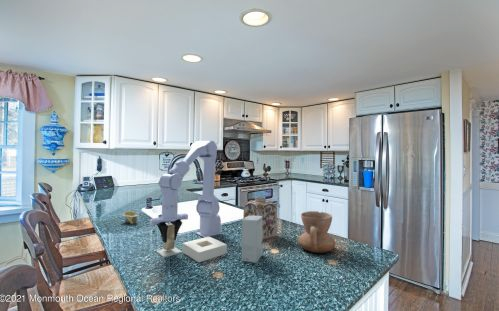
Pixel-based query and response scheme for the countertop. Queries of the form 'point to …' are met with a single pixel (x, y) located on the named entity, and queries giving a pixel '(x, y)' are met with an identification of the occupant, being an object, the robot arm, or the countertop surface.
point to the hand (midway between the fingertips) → (169, 240)
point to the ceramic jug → (316, 232)
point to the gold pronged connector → (131, 217)
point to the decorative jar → (263, 215)
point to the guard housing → (204, 249)
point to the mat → (168, 252)
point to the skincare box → (252, 238)
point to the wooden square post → (169, 237)
